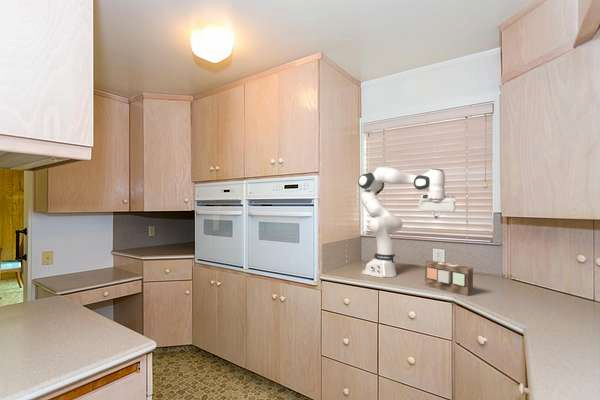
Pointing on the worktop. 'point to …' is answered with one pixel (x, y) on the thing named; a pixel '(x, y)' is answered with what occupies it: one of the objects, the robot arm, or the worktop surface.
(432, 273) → the key left
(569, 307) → the worktop surface
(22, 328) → the worktop surface
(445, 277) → the key middle
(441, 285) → the keypad console
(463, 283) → the key right
